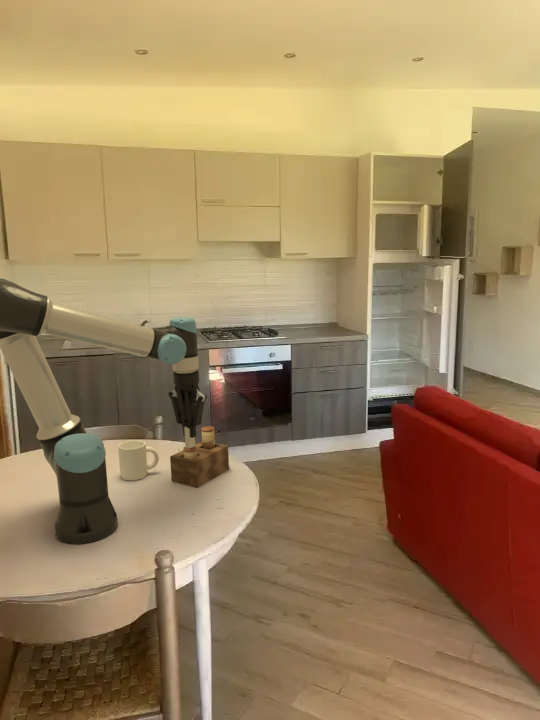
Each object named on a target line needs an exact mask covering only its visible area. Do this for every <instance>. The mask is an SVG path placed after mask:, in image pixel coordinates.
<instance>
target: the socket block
mask: <svg viewBox="0 0 540 720" xmlns="http://www.w3.org/2000/svg"><path fill="white" fill-rule="evenodd" d="M195 446H196V447H197V457H195V458H193V459H188V458H184V451H183V450H180V451H179V452H176V453H174V454H172V455H170V456H169V460H170V461H169V463H170V479H171V482H173V483H175V484H181V485H185V486H189V487H192V488H196V489H198V488H200V487H201V486H203V485H205V484H207V483H209V482H210V481H211V480H213V479H215V478H217V477H218V476H221V475H222V474H224V473H226V472H227V471H229V470H230V463H229V462H230V461H229V459H230V458H229V445H227V444H223V443H217V442H215V448H213V449H211V450H208V449H204V448H202V440H201V441H200V442H197V443H195Z"/></svg>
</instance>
